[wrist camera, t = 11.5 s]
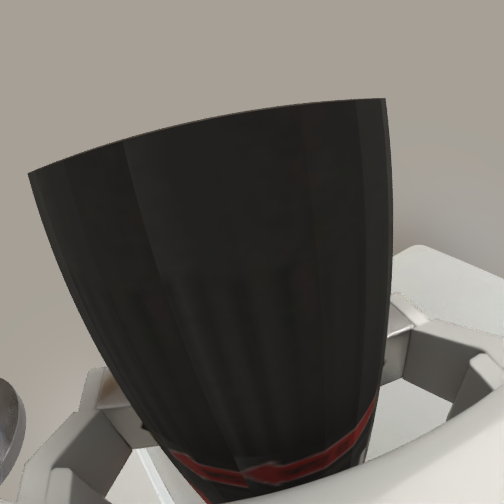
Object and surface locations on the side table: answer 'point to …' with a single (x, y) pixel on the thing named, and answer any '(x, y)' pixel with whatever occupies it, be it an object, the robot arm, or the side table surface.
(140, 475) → the side table surface
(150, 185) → the deodorant
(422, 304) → the side table surface
